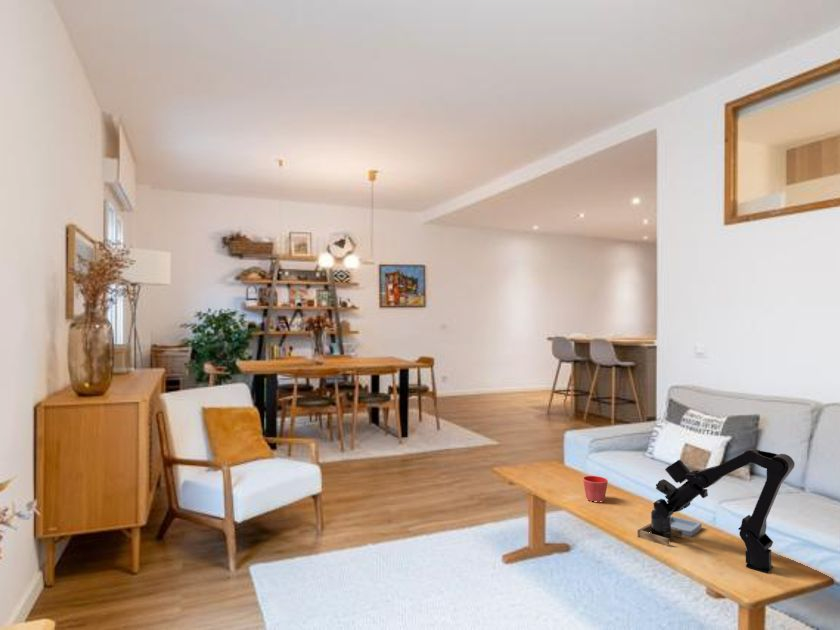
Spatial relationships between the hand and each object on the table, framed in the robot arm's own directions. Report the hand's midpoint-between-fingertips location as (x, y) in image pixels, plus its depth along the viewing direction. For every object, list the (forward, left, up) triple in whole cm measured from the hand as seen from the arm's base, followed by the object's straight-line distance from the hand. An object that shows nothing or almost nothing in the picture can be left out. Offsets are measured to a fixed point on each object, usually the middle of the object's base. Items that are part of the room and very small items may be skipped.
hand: (657, 515), depth 204 cm
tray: (-3, -14, -8) cm, 16 cm away
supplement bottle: (-1, 0, -7) cm, 7 cm away
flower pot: (+37, -22, -8) cm, 44 cm away
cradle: (-1, 0, -8) cm, 8 cm away
